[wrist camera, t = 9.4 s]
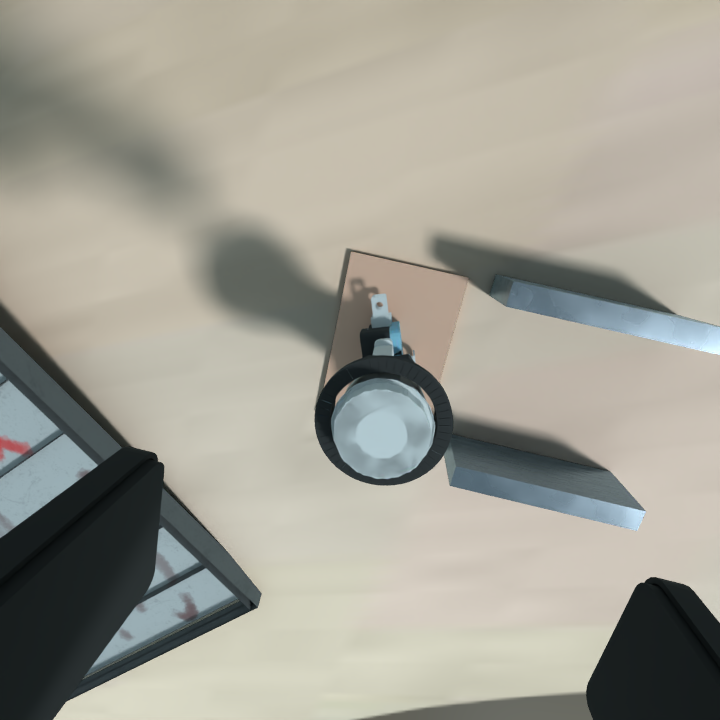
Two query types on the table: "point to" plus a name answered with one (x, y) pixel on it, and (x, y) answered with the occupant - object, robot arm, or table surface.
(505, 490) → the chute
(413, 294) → the mat
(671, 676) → the robot arm
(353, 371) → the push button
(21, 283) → the table surface
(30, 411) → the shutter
